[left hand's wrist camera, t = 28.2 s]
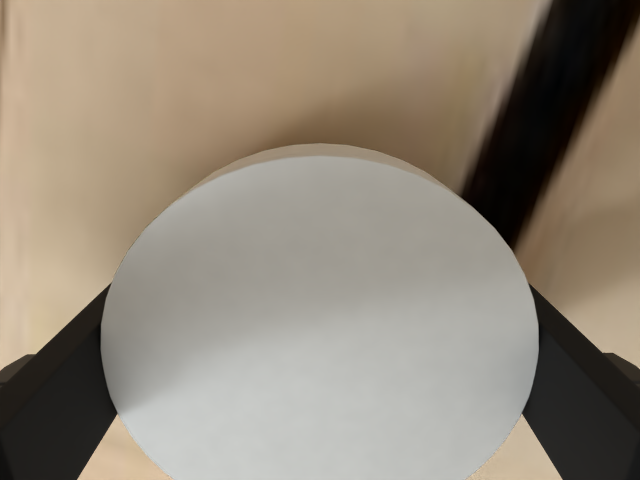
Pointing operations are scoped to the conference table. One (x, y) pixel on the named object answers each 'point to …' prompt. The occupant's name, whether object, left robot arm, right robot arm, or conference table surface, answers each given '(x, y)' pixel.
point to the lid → (319, 325)
